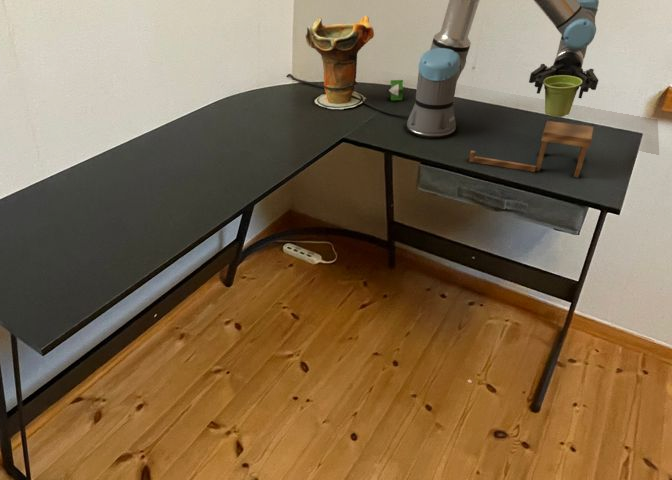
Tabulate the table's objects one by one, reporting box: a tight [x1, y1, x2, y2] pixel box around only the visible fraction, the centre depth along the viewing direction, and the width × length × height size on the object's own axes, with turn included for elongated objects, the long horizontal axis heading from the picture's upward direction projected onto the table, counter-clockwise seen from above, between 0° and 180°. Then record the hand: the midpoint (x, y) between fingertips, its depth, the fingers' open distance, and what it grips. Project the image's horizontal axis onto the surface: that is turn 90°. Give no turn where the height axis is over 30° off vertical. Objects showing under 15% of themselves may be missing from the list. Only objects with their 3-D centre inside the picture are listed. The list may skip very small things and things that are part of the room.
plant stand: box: [468, 120, 594, 178], centre depth 169 cm, size 30×13×11 cm, turn 64°
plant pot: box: [543, 75, 582, 118], centre depth 160 cm, size 9×9×9 cm
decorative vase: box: [305, 15, 375, 110], centre depth 207 cm, size 21×23×28 cm
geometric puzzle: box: [386, 79, 408, 101], centre depth 213 cm, size 7×7×8 cm
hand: (560, 90), depth 155 cm, fingers closed on plant pot, 9 cm apart
